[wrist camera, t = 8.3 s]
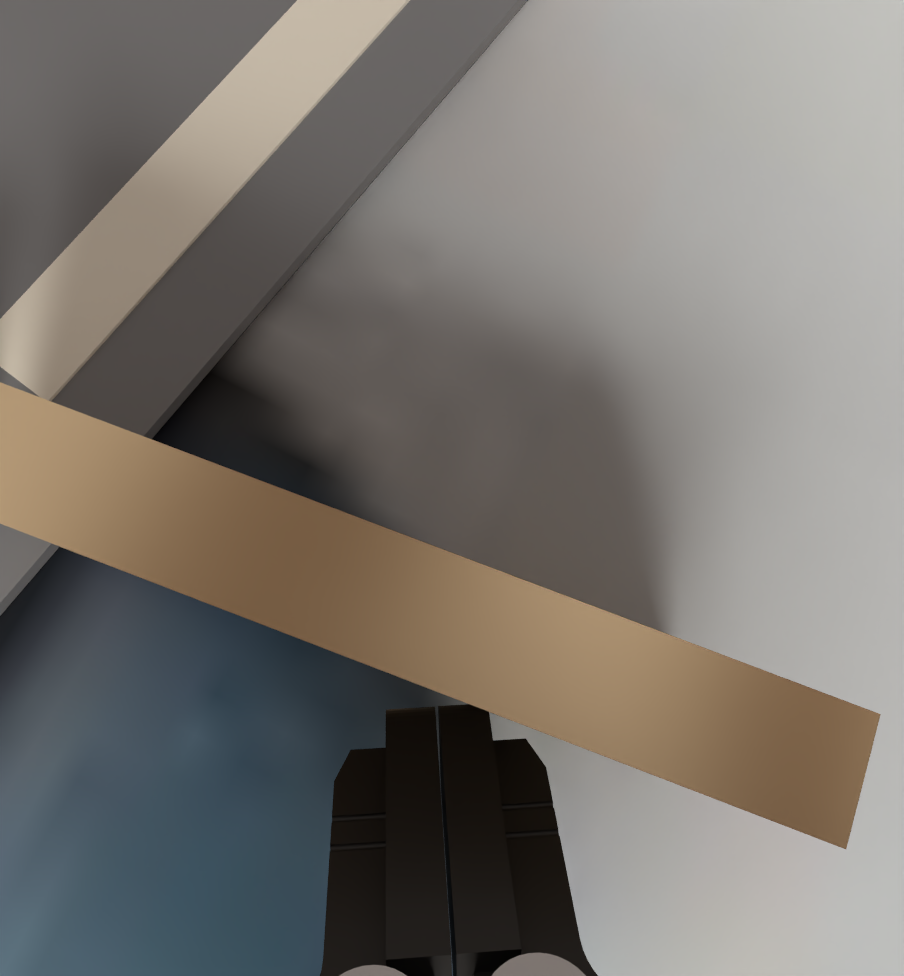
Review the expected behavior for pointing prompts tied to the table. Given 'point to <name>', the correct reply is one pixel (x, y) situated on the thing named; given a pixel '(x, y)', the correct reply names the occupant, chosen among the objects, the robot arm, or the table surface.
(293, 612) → the folding section
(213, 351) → the card
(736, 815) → the table surface
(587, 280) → the table surface
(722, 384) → the table surface
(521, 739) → the robot arm
